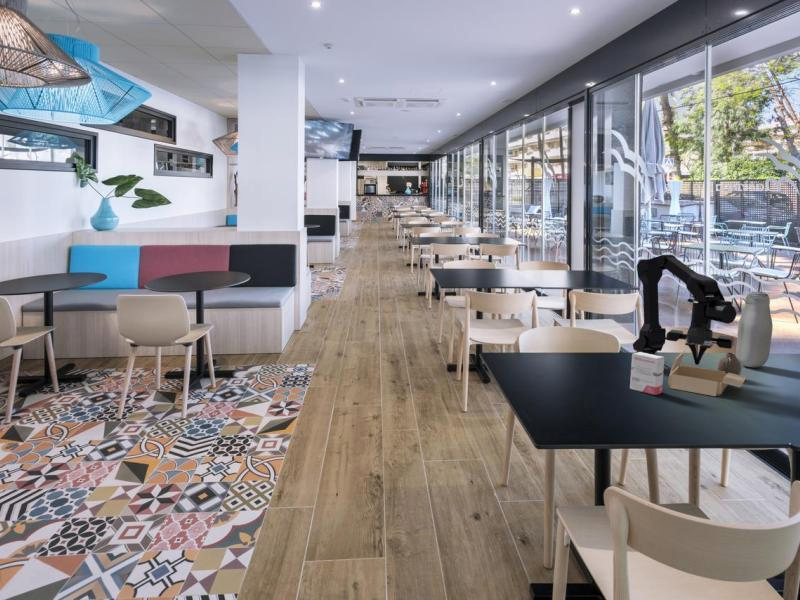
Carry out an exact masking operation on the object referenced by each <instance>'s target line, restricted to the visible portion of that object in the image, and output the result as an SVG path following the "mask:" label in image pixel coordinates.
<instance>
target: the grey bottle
mask: <svg viewBox="0 0 800 600" xmlns="http://www.w3.org/2000/svg"><path fill="white" fill-rule="evenodd" d="M744 300H745V301H744V306H743V310H742V312H741V315H740V318H739V320H738V325H737V333H736V334H737V337H736V338H737V339H736V346H735V348H736V349H735V351H736V352H735V355H736V357H737V359H738V360H739V362H740V364H741V366H744V367H748V368H752V369H753V368H759V367H760V368H761V367H763V366H764V365H765V364H766V363H767V361H768V359H769V357H770V351H771V342H772V336H773V319H772V315H771V307H770V304H771V298H770V296H769V294H768V293H766V292H763V291H751V292H749V293H747V295H746V297H745V299H744Z"/></svg>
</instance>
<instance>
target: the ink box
mask: <svg viewBox="0 0 800 600" xmlns="http://www.w3.org/2000/svg"><path fill="white" fill-rule="evenodd" d="M657 355H658V354H657ZM657 355H652V354H648V353H643V352H638V353H637V352H633V353H632V354H631V366H630V367H631V368H630V383H629V389H630V390H634V391H637V392H640V393H641V392H642V393H646V394H650V395H653V396H656V395H657V396H658V395H659V394H660V395H661V393H662V392H663V385H664V384H663V382H664V371H665V370H664V369H665V356H661V355H658V356H657Z"/></svg>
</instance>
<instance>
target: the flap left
mask: <svg viewBox="0 0 800 600" xmlns="http://www.w3.org/2000/svg"><path fill="white" fill-rule="evenodd" d="M685 353H686V351H684V350H683V351H681V353H680V354H678V355H677V356H676V357H675V358H674V361H673V363H672V366H671V368H670V373H672V372H673V371H674V370H675V369H676V368H677V367H678V366H681V363H682V361H683V359H684V356H685Z"/></svg>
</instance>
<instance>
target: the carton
mask: <svg viewBox="0 0 800 600" xmlns="http://www.w3.org/2000/svg"><path fill="white" fill-rule="evenodd" d="M726 375H727V374H726V373H725V371H718V369H711V368H705V367H699V366H693V365H685V364H680V365H679V366H678V367H677V368H676V369H675V370H674V371H673V372H672V373H671V372H670V373H669V375H668V383H667V386H668V387H669V388H670V389H674V390H678V391H684V392H689V393H694V394H695V393H696V394H699V395H700V394H701V395H704V396H705V395H706V396H712V397H716V396H719V397H721V396H722V395H723V393H724V391H725V390H726V388H727V387H728V384H725V383H722V381H723V380H724V378H725V377H726Z"/></svg>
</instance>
